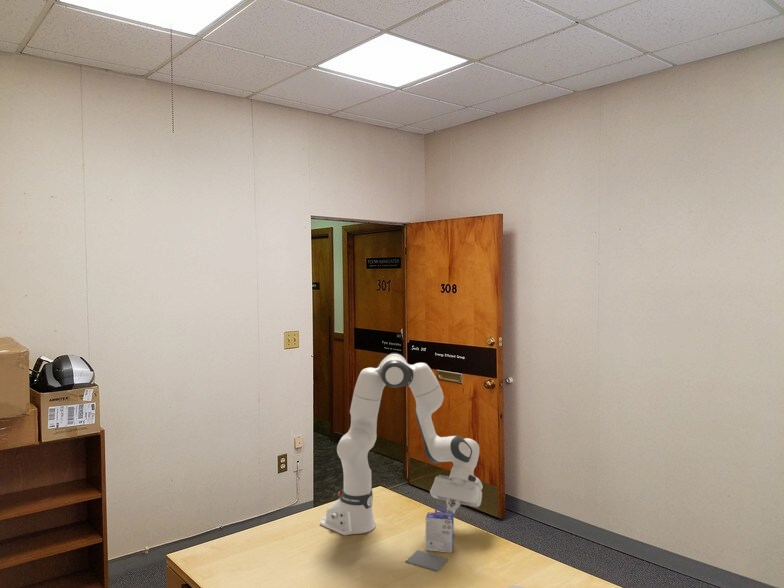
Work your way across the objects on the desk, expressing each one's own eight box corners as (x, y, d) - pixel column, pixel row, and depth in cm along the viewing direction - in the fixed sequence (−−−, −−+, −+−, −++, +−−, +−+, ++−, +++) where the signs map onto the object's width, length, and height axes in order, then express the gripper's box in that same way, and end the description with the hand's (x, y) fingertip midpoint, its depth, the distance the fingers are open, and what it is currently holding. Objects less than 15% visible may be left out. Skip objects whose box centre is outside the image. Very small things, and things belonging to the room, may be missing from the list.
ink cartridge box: (454, 546, 203) (454, 507, 202) (452, 553, 197) (452, 513, 197) (427, 543, 205) (427, 505, 204) (425, 550, 199) (425, 511, 199)
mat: (405, 562, 191) (405, 560, 191) (417, 551, 199) (417, 549, 199) (436, 571, 185) (436, 570, 185) (448, 559, 193) (448, 558, 193)
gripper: (434, 470, 220) (423, 502, 212) (482, 479, 210) (472, 514, 202) (438, 477, 224) (428, 510, 216) (486, 487, 214) (477, 521, 206)
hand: (450, 512), depth 209 cm, fingers closed
